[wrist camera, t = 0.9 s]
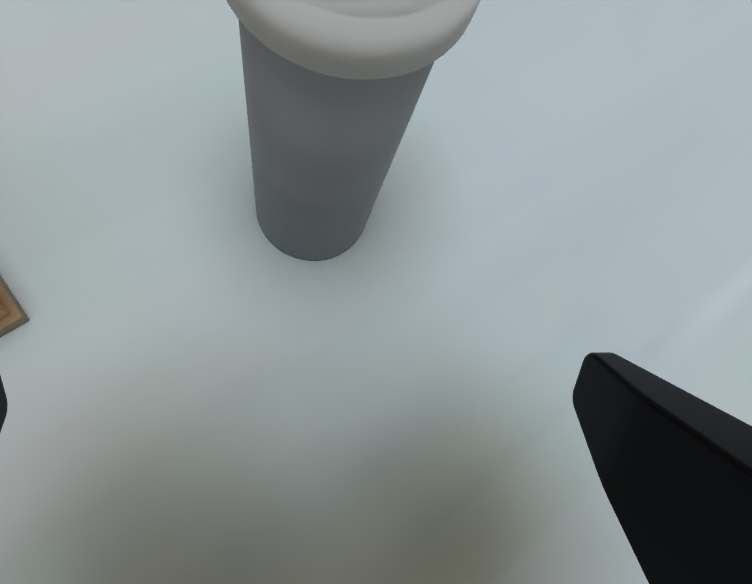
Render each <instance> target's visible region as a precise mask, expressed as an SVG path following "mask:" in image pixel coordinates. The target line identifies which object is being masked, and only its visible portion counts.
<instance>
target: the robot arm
mask: <svg viewBox="0 0 752 584" xmlns="http://www.w3.org/2000/svg"><path fill="white" fill-rule="evenodd" d="M573 405H574V408H575V411H576V414H577V417H578V419H579V422H580V425H581V428H582V431H583V433H584V436H585V439H586V442H587V445H588V448H589V450H590V453H591V456H592V459H593V462H594V464H595V467H596V470H597V473H598V475H599V478H600V480H601V483H602V485H603V488H604V490H605V492H606V494H607V497H608V499H609V501H610V503H611V505H612V507H613V509H614V511H615V514H616V516H617V518H618V520H619V522H620V524H621V526H622V528H623V530H624V532H625V534H626V537H627V539H628V541H629V543H630V545H631V547H632V549H633V551H634V553H635V555H636V557H637V559H638V562H639V564H640V566H641V568H642V570H643V572H644V574H645V576H646V578H647V580H648V582H649V584H752V426H750V425H748V424H746V423H745V422H743V421H741V420H739V419H737V418H735V417H733V416H731V415H729V414H728V413H726V412H724V411H722V410H720V409H718V408H716V407H714V406H713V405H711V404H709V403H707V402H705V401H703V400H701V399H699V398H697V397H696V396H694V395H692V394H690V393H688V392H686V391H684V390H682V389H680V388H679V387H677V386H675V385H673V384H671V383H669V382H667V381H665V380H663V379H662V378H660V377H658V376H656V375H654V374H652V373H650V372H648V371H647V370H645V369H643V368H641V367H639V366H637V365H635V364H633V363H631V362H630V361H628V360H626V359H624V358H622V357H620V356H618V355H616V354H614V353H610V352H607V353H590V354H588V355H587V356H586V357H585V358H584V360H583V363H582V366H581V369H580V372H579V375H578V378H577V381H576V384H575V387H574V391H573ZM6 414H7V398H6V394H5V390H4V387H3V383H2V379H1V376H0V432H1V429H2V426H3V423H4V420H5V417H6Z"/></svg>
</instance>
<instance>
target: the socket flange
mask: <svg viewBox="0 0 752 584" xmlns="http://www.w3.org/2000/svg"><path fill="white" fill-rule="evenodd" d="M28 320H29V319H28V317H27V316H26V314H25V313H24V311H23V310H22V308H21V307H20V305H19V304H18V302H17V301H16V299H15V298H14V296H13V295H12V293H11V292H10V290H9V289H8V287H7V286H6V284H5V283H4V281H3V279H2V278H1V276H0V337H1V336H3V335H4V334H6V333H8V332H9V331H11V330H13V329H15V328H16V327H18V326H20V325H21V324H23V323H25V322H26V321H28Z"/></svg>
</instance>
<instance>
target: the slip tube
mask: <svg viewBox="0 0 752 584" xmlns="http://www.w3.org/2000/svg"><path fill="white" fill-rule="evenodd" d="M227 2H228V4H229V6H230V7H231V9H232V10H233V12H234V13H235V15H236V16H237V18H238V19H239V28H240V39H241V50H242V61H243V72H244V83H245V94H246V104H247V115H248V126H249V137H250V148H251V159H252V170H253V180H254V191H255V202H256V212H257V218H258V222H259V225H260V227H261V229H262V231H263V233H264V234H265V236H266V237H267V239H268V240H269V241H270V242H271V243H272V244H273V245H274V246H275V247H276V248H278V249H279V250H280V251H282V252H284V253H285V254H287V255H289V256H292V257H294V258H298V259H302V260H309V261H319V260H326V259H329V258H333V257H335V256H338V255H340V254H341V253H343V252H345V251H346V250H348V249H349V248H350V247H351V246H352V245H353V244H354V243H355V242H356V241H357V239H358V238H359V237H360V235H361V233H362V231H363V229H364V226H365V224H366V222H367V219H368V217H369V215H370V212H371V210H372V207H373V205H374V203H375V200H376V198H377V196H378V193H379V191H380V189H381V186H382V184H383V181H384V179H385V177H386V174H387V172H388V170H389V167H390V165H391V163H392V160H393V158H394V155H395V153H396V151H397V148H398V146H399V144H400V141H401V139H402V137H403V134H404V132H405V129H406V127H407V125H408V122H409V120H410V118H411V115H412V113H413V111H414V108H415V106H416V103H417V101H418V99H419V96H420V94H421V92H422V89H423V87H424V85H425V82H426V80H427V77H428V75H429V73H430V70H431V68H432V66H433V63H434V61H435V60H437V59H438V58H440V57H441V56H443V55H444V54H445V53H446V52H447V51H448V50H449V49H450V48H452V47H453V46H454V45H455V44H456V42H457V41H458V40H459V39H460V37H461V36H462V35H463V34H464V32H465V30H466V28H467V27H468V25H469V23H470V21H471V19H472V17H473V15H474V13H475V11H476V9H477V6H478V4H479V2H480V0H227Z"/></svg>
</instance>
